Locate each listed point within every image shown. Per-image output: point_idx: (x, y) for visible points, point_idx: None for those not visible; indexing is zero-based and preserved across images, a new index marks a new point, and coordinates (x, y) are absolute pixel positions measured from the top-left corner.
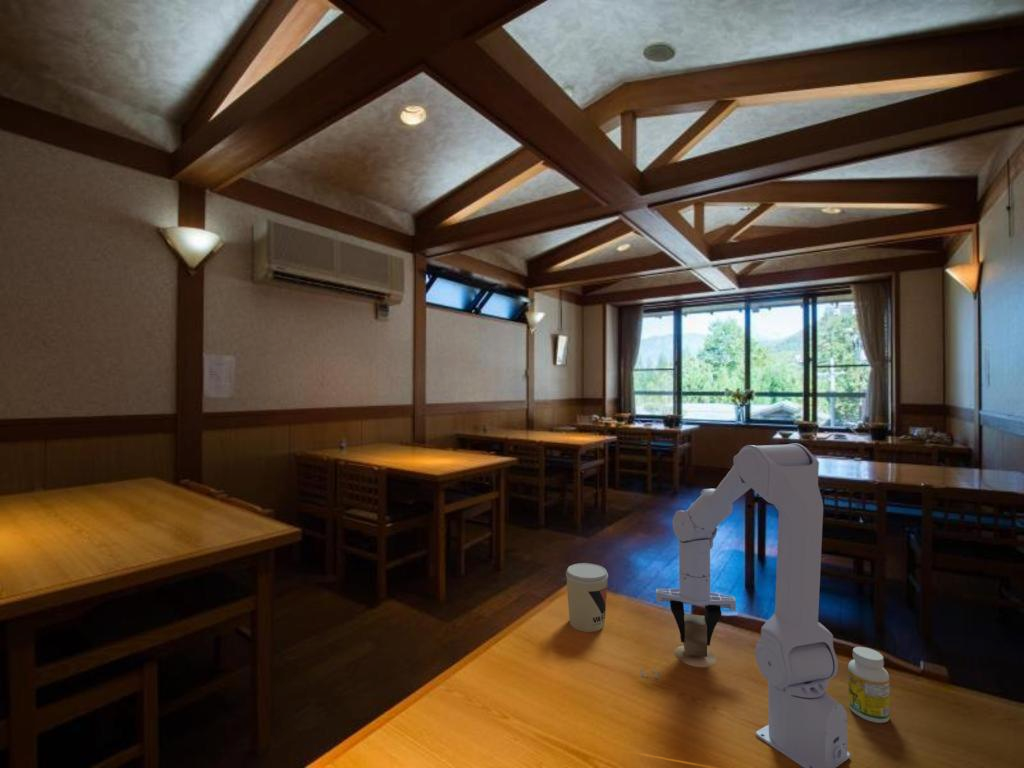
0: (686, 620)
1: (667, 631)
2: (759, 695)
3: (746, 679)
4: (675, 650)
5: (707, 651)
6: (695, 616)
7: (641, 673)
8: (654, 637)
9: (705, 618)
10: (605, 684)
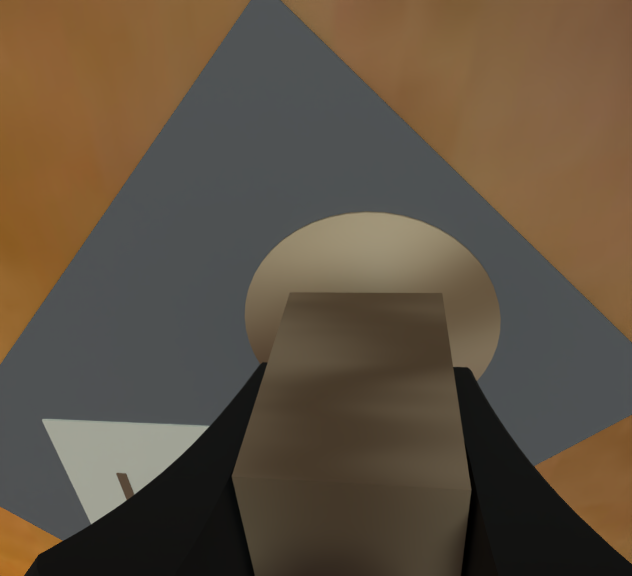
0: (273, 574)
1: (154, 5)
2: (626, 538)
3: (617, 457)
4: (248, 304)
5: (460, 267)
6: (364, 512)
7: (127, 497)
8: (86, 151)
9: (474, 511)
10: (34, 546)
